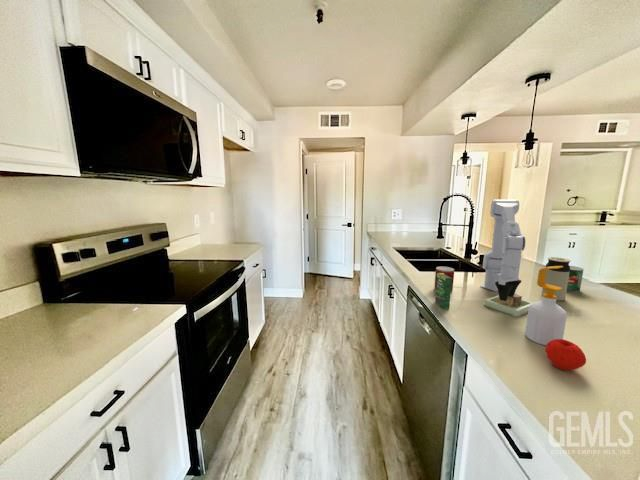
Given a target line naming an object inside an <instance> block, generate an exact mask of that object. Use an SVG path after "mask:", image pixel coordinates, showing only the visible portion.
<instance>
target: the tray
mask: <svg viewBox="0 0 640 480" xmlns="http://www.w3.org/2000/svg"><path fill="white" fill-rule="evenodd" d="M498 297H499V294H498V295H495V296H493V297H489V298H487V299H484V305H483V306H485V307H487V308H489V309H492V310H496V311H498V312H501V313H504V314H506V315H509V316H512V317H515V318H518V317H520V316H523V315H525V314H528V309H529V306H530V305H531V304H532V303H533V302H532V301H528V300H525V299H521V305H520V306H517V307H514V306H512V308H511V307H508V306H505V305H502V304H499V303H497V298H498Z"/></svg>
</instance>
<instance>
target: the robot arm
mask: <svg viewBox="0 0 640 480" xmlns="http://www.w3.org/2000/svg"><path fill="white" fill-rule="evenodd" d="M519 210H520V201H519V200H518V199H493V200H492V201H491V205H490V212H489V213H490V217H492V218H494V224H493V234H492V243H491V250H490V251H487V252H486V253H485V254H484V255H483V261H482V268H483V269H484V270H485V276H484V284H482V285H480V286H479V287H480V288H483V289H487V290H490V291H494V292H498V295H499V299H500V300H503V301H506V300H507V298H508V296H510V297H513V296H514V294H515V293H516V292H517V289H518V287H519V285H520V284H522V280H521V279H519V278H520V277H519V274H520V268H521V262H522V261H521V260H522V252H523V251H524V250H525V249H526V237H525V235H524V234H522V233H521V228H520V224H519V223H518V222H517V221H516V218H515V215H517V213H518V212H519Z"/></svg>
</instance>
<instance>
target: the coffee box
mask: <svg viewBox="0 0 640 480" xmlns="http://www.w3.org/2000/svg"><path fill="white" fill-rule="evenodd" d="M451 281H452V278H450V277H448V276H447V275H445V274H443V273H437V280H436V290H435V297H434V298H435V299H434V300H435V303H436V304H437V305H439V306H440V308H442V309H443V310H448V309H450V304H451V303H450V302H451V295H452V294H451V293H452V292H451Z"/></svg>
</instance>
